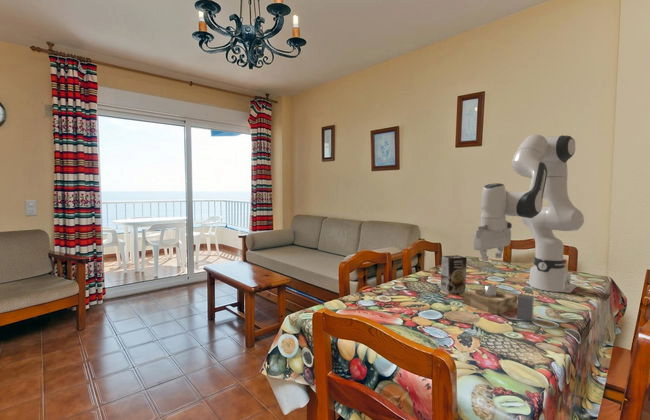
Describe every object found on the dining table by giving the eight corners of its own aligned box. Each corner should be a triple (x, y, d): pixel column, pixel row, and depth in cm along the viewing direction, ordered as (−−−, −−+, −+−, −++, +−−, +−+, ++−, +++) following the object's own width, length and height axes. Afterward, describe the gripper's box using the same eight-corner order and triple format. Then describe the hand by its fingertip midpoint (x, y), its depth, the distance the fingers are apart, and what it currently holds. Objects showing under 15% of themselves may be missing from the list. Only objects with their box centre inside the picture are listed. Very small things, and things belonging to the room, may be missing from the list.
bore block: (483, 298, 140) (483, 286, 140) (516, 308, 128) (517, 295, 128) (463, 303, 133) (463, 291, 132) (496, 315, 121) (497, 301, 121)
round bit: (487, 303, 133) (488, 284, 133) (497, 306, 130) (498, 286, 129) (481, 305, 131) (482, 285, 131) (491, 308, 128) (492, 288, 127)
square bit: (518, 314, 121) (519, 293, 121) (532, 317, 118) (533, 296, 118) (516, 318, 118) (517, 296, 117) (531, 321, 115) (532, 299, 114)
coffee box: (448, 294, 145) (449, 258, 144) (440, 289, 151) (441, 255, 150) (466, 292, 148) (467, 257, 147) (456, 288, 154) (457, 254, 153)
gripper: (484, 227, 120) (483, 264, 121) (514, 223, 131) (513, 257, 132) (469, 225, 126) (468, 261, 127) (499, 222, 137) (498, 254, 137)
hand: (491, 259), depth 129 cm, fingers open, 8 cm apart
